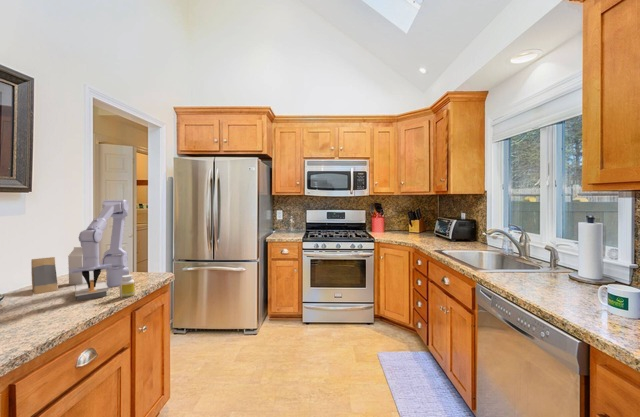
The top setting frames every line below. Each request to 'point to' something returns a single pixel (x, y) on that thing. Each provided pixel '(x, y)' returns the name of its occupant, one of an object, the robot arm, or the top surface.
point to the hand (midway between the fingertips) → (91, 287)
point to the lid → (83, 288)
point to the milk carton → (75, 262)
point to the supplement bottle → (127, 287)
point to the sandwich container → (44, 275)
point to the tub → (91, 296)
